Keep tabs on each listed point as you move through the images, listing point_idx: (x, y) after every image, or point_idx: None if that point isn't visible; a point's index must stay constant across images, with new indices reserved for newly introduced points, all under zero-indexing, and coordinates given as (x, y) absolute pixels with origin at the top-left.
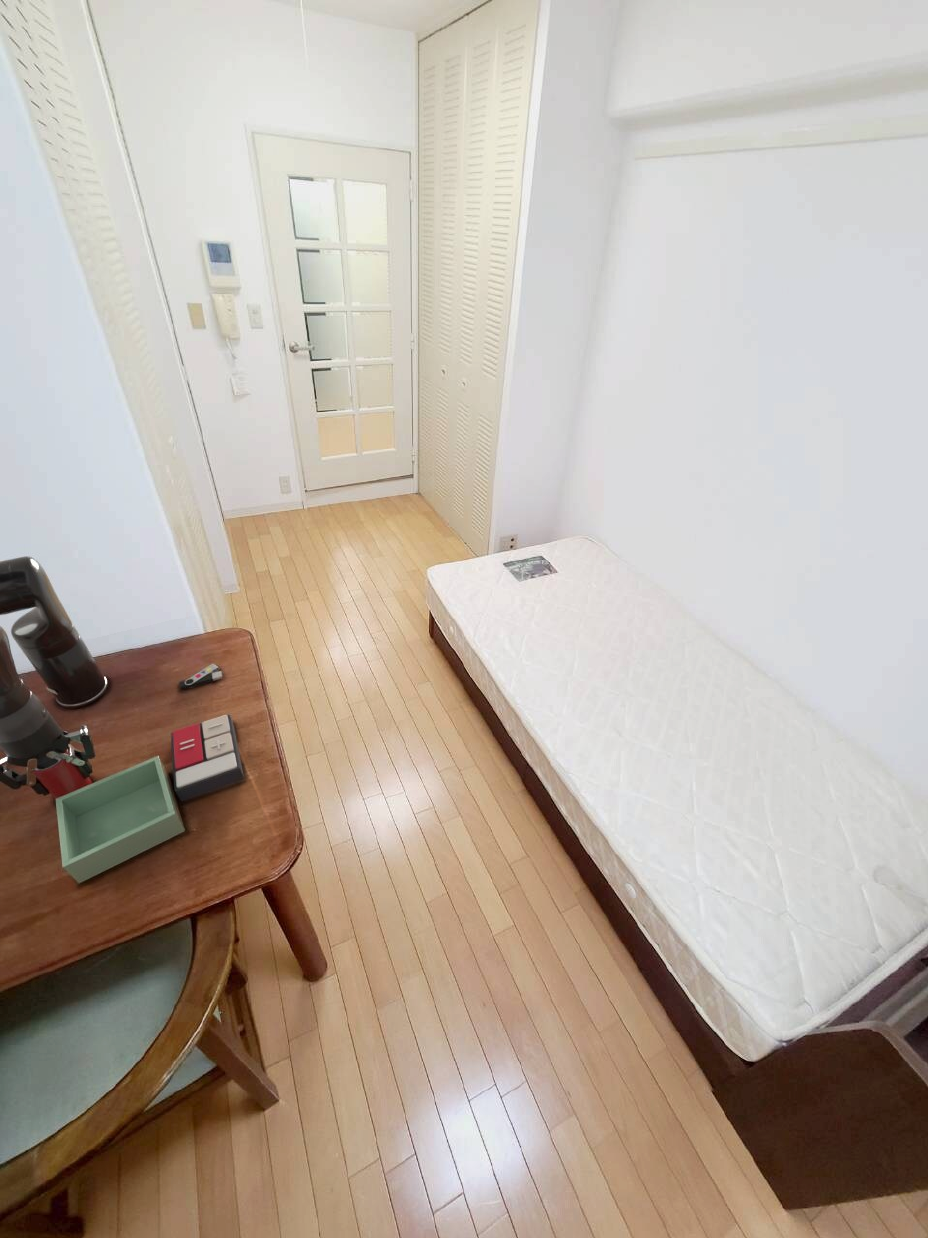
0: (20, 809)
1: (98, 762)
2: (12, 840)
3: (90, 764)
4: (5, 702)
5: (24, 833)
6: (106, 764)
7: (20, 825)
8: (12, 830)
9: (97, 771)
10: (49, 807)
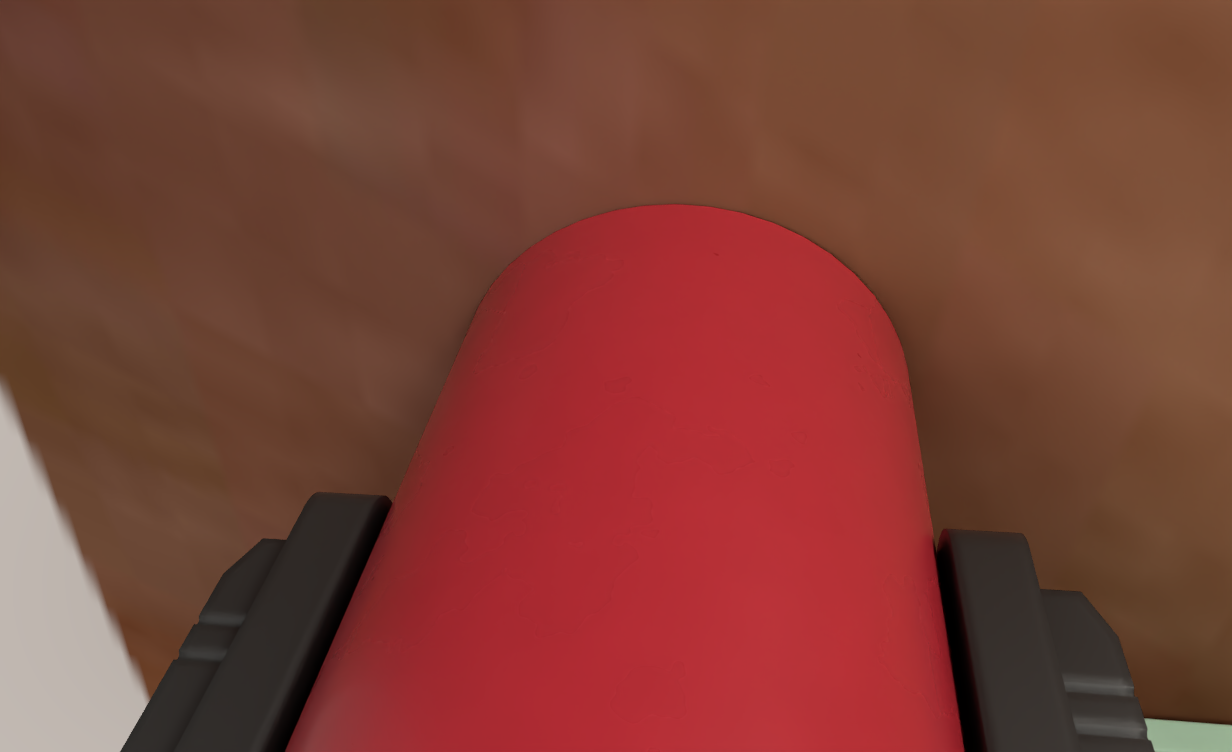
0: (57, 302)
1: (1119, 32)
2: (116, 602)
3: (1127, 710)
4: None
5: (205, 594)
6: (1211, 162)
7: (135, 499)
8: (74, 511)
9: (1032, 229)
10: (393, 452)
